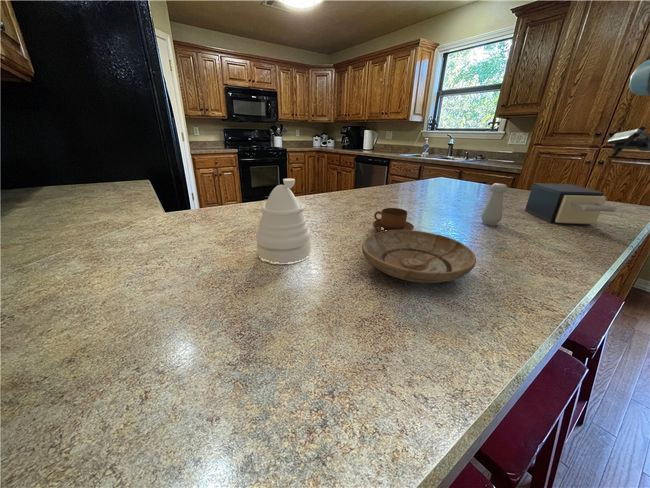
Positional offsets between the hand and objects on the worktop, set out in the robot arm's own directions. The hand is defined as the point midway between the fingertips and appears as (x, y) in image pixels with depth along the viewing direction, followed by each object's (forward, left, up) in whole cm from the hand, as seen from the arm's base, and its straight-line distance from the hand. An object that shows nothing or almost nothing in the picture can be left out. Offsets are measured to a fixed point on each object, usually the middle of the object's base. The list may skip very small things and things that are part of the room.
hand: (643, 165), depth 75 cm
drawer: (+11, -3, -19) cm, 22 cm away
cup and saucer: (+55, +41, -20) cm, 71 cm away
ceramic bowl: (+42, +60, -20) cm, 76 cm away
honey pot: (+70, +72, -20) cm, 102 cm away
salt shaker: (+32, +15, -20) cm, 40 cm away
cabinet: (+14, -8, -20) cm, 25 cm away
